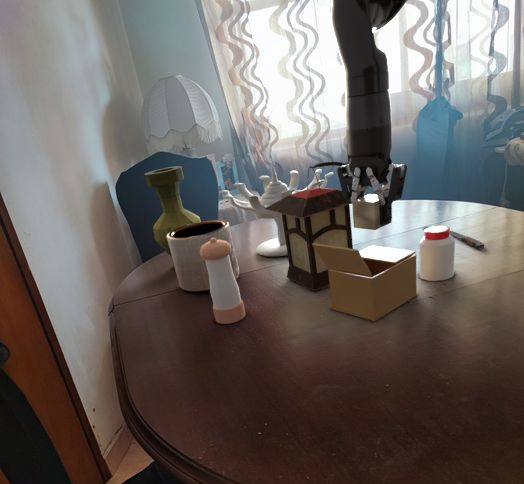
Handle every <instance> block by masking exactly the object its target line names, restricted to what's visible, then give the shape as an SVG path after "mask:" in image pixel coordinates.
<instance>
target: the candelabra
mask: <svg viewBox="0 0 524 484" xmlns="http://www.w3.org/2000/svg"><path fill="white" fill-rule="evenodd" d="M314 171H315V173H316V175H315V173H314V177H313V180H312V181H311V182H310V183H309V184H308V189H310V188H314V187H319V186H320V187H322V188H326V187H327V184H328V179H329V178H331V177H332V176H333V175H334V172H333V171H331V172H328V173H326V174H325V175H324V179H321V174H322V173H323V169H322V168H318V169H316V170H314ZM276 172H277V171H276V169H275V165H274V162H271V176H268V175H261V176H259V177H258V178H259V180H261V181H262V186H263V191H264V193H263V194H262V195H261V196H259V195H258V194H252V192H250V191H249V190H248V188H247V187H246V184H245V183H244V182H235V183H234V184H232V186H233V187H235V188H238V191H239V193H240V194H241V196H243V197H244V198H245V199H246V200H247V201H244V200H240V199H237V198H235V197H234V196H233V195H232V194H231V193H230V190H229V189H224V190H220V191H219V194H221V195H225V196H224V198H225V199H227V200H228V201H229V203H230V204H231V205H232V206H233V207H235V208H238V209H241V210H245V211H248V212H251V213H253V214H254V216H255V217H256V219H262V220H274V223H275V224H276V228H277V237H274V238H271V239H268V240H266V241H263V242H262V243H260V244H259V245H258V246H257V247H256V250H255V251H256V253H257V254H258V255H260V256H263V257H272V258H273V257H284V256H288V254H287V248H286V241H285V234H284V227H283V221H282V214H281V213H277V212H274V211H270V210H266V209H265V208H267V207H268V206H270V205H272V204H274V203H276V202H278V201H279V200H281V199H283V198H285V197H287V196H288V195H291V194H294V193H297V192H300V191H303V190H306V189H307V186H306V187H305V188H304V189H298V187H299V184H300V173H299V171H297V170H291V171H289V174H290V182H289V185H287V184H286V183H284V182H282V181H281V180H278V176H277V173H276ZM316 176H317V178H316ZM317 179H318V182H319V185H318V182H317Z"/></svg>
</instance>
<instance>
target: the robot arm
mask: <svg viewBox="0 0 524 484" xmlns="http://www.w3.org/2000/svg"><path fill="white" fill-rule="evenodd" d="M407 2H408V0H331V6H330V19H331V20H330V21H331V27H332V32H333V35H334V40H335V43H336V47H337V50H338V54H339V57H340V60H341V61H340V62H341V64H342V66H343V70H344V73H343V74H344V92H345V93H344V94H345V110H344V112H345V113H344V114H345V116H344V117H345V132H346V151H347V150H348V155H349V156H350V157H351V158H350V162H349V165H348V164H347V165H344V166H341V167H340V166H338V167H337V169H336V172H337V176H338V180H339V181H338V182H339V186H340V188H341V189H340V190H341V191H342V193H343V197H344V199H346V200H347V199H349V200H351V202H352V201H354V200H356V199H359V198H361V197H364V196H366V191H367V190H368V188H369V187H371V188H372V190H373V193H374V195H377V196H378V200H379V203H380V206H379V209H380V225H381V226H383V227H385V226H387V225H389V224H391V223H390V221H391V220H392V221H393V213H392V212H393V202H395V201H398V200H400V199H402V197H403V192H404V187H405V182H406V176H407V171H408V166H407V164H405V163H403V164H396V163H393V160H392V158H391V151H392V149H393V148H392V147H393V140H392V138H393V137H392V136H393V134H392V105H391V104H392V103H391V95H390V77H389V76H390V75H389V73H390V71H389V57H388V55H387V53H386V52H385V51H384V50H382V49H379V48H378V46H377V45H376V44H377V43H376V39H375V35H374V33H376V32H378V31H380V30H382V29H384V28H385V27H386V26H388V25H389V24H390V23H391V22H392V21H394V19H395V18H396V17H397V16H398V14H399V13H400V12H401V10H402V9H403V7H404V6H405V5H406V3H407ZM348 155H347V156H348ZM381 185H382V186H381Z"/></svg>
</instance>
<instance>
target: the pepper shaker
mask: <svg viewBox="0 0 524 484" xmlns="http://www.w3.org/2000/svg"><path fill="white" fill-rule="evenodd" d="M230 252H231V246H230V244H229V243H228V242H227V241H224V240H217V239H216V238H211V239H210V241H209V242H207V243H205V244H204V245H203V246H202V247H201V249H200V255H201V257H202V258H203V259H205V261H206V265H207V270H208V274H209V282H210V291H209V294H210V296H211V300H212V303H213V305H212V310H213V311H212V312H213V315H214V319H215V322H216V323H217V324H223V325H227V324H234V323H237V322H239V321H241V320H243V319H244V318H245V317H246V309H245V305H244V301H243V299H242V298H241V293H240V292H241V291H240V287H239V284H238V282H237V279H235V277H234V274H233V271H232V266H231V262H230V257H229V254H230Z"/></svg>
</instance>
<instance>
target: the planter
mask: <svg viewBox="0 0 524 484" xmlns="http://www.w3.org/2000/svg"><path fill="white" fill-rule="evenodd" d="M211 238H216V239H217V240H224V241H227V242H228V243H229V244H230V246H231V252H230V254H229V257H230V262H231V266H232V271H233V274H234V277H235V279H236V280H237V279H239V276H240V268H239V267H240V266H239V264H238V263H239V262H238V259H237V254H236V249H235V245H234V240H233V235H232V231H231V226H230V223H229V221H227V220H223V219H211V220H203V221H202V220H201V222H197V223H193V224H189V225H185V226H182V227H180V228H177V229H175V230H173V231H171V232H170V233H168V234H167V240H168V243H169V247H170V251H171V255H172V257H171V258H172V263H173V262H174V266H175V275H176V279H177V281H178V286H179V287H180V289H182V290H183V291H186V292H188V293H207V292H208V293H209V292H210V282H209V274H208V270H207V265H206V261H205V259H203V258H202V257H201V255H200V249H201V247H202V246H203V245H204V244H205V243H207V242H209V241H210V239H211ZM174 266H173V267H174Z"/></svg>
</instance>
